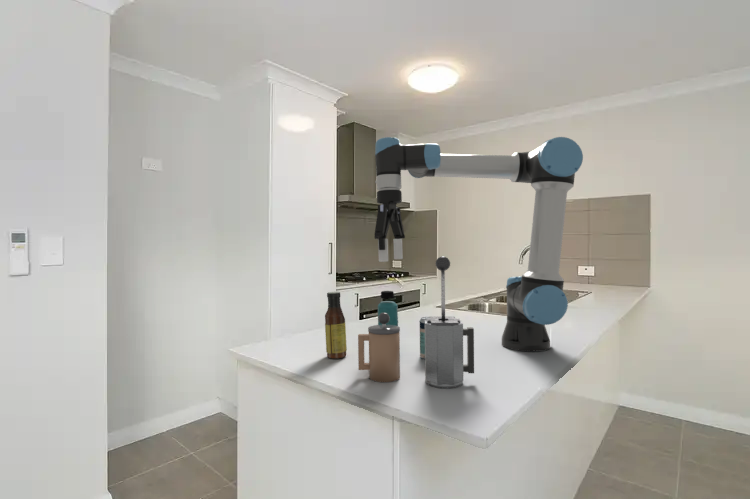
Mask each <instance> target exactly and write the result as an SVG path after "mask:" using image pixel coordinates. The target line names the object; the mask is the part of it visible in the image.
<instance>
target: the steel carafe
mask: <svg viewBox="0 0 750 499" xmlns="http://www.w3.org/2000/svg"><path fill="white" fill-rule="evenodd" d="M429 317H430V319H427V320H425V359H424V372H425V374H424V376H425V378H424V379H425V380H424V381H425V383H426V385H427V386H430V387H433V388H436V389H446V390H447V389H456V388H459V387H461V386H463V383H464V373H468V374H475V335H474V334H475V329H474V327H471V326H470V327H466V328H464V323H463V322H462V320H461V319H460V318H456V316H445V320H442V316H429ZM464 336H466V342H467V343H466V345H467V346H466V350H467V351H466V353H467V355H466V356H467V357H466V358H467V359H466V360H467V364H464Z"/></svg>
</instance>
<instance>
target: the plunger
mask: <svg viewBox="0 0 750 499" xmlns="http://www.w3.org/2000/svg"><path fill="white" fill-rule="evenodd" d="M435 267H436V269H438V270H439V271H440V280H441V281H440V283H441V284H440V286H441V288H440V289H441V291H440V292H441V294H440V295H441V296H440V297H441V298H440V300H441V303H440V304H441V308H440V309H441V312H440V313H441V315H440V316H441V317H442V320H445V317H446V271H448V270H449V268H450V267H451V261H450V259H449V258H448V257H447V256H443V255H442V256H439V257H438V258H436V261H435Z"/></svg>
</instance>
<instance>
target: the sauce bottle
mask: <svg viewBox="0 0 750 499" xmlns="http://www.w3.org/2000/svg"><path fill="white" fill-rule="evenodd" d="M326 296H327V297H326V298H327V302H328V303H327V311H326V312H325V314H324V318H325V319H324V321H325V322H324V328H325V350H326V351H325V352H326V356H327V357H326V358H329V359H332V360H333V359H335V360H337V359H343V358H345V357H346V356H347V349H348V348H347V332H346V331H347V330H346V317H345V315H344V312H343V309H342V307H341V292H340V291H329V292H328V291H327V293H326Z"/></svg>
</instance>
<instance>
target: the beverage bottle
mask: <svg viewBox="0 0 750 499" xmlns="http://www.w3.org/2000/svg"><path fill="white" fill-rule="evenodd" d="M394 298H395V294H394V291H393V290H382V291H381V292H380V299H387V300H385V301H380V303H378V304H377V317H378V316H379V315H380V314H381V313H383V312H385V313H387V314H388V315H389V317H390V320H389V322H388V323H387V324H386V325H395V326H398V327H399V316H398V315H399V314H398V304H397V303H396V302H395V301H391V300H388V299H394ZM377 325H382V324H381V323H380V322H379V320H378V319H377Z"/></svg>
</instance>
